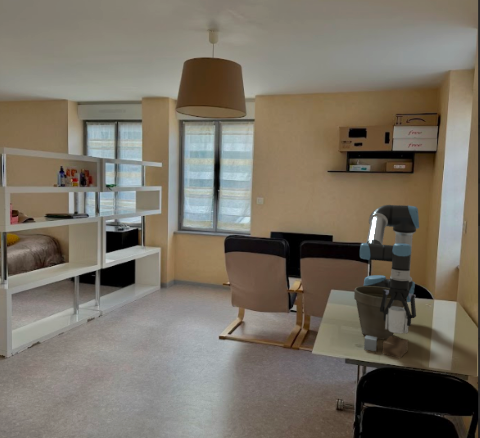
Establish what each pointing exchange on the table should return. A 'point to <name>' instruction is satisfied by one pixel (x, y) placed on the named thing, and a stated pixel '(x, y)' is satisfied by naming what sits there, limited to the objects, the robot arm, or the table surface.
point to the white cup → (396, 319)
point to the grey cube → (370, 343)
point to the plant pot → (373, 310)
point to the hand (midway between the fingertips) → (396, 330)
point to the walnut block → (395, 346)
